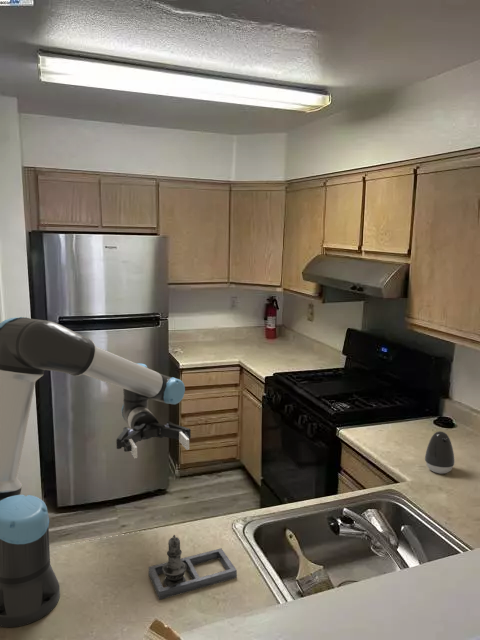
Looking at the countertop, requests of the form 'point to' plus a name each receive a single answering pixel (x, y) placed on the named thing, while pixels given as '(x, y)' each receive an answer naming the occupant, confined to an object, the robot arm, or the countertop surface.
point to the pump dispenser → (440, 453)
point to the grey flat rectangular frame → (193, 574)
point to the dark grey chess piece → (174, 564)
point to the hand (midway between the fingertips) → (162, 448)
